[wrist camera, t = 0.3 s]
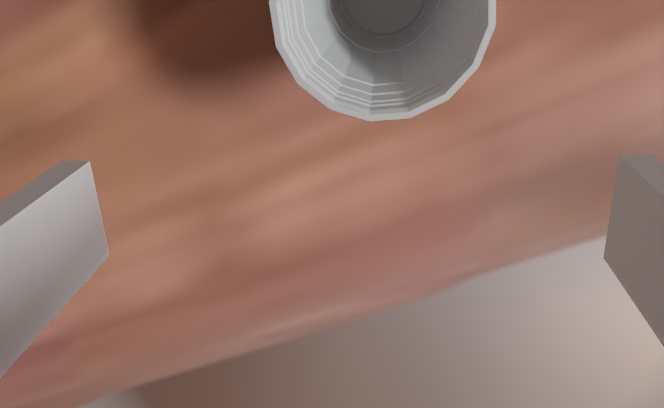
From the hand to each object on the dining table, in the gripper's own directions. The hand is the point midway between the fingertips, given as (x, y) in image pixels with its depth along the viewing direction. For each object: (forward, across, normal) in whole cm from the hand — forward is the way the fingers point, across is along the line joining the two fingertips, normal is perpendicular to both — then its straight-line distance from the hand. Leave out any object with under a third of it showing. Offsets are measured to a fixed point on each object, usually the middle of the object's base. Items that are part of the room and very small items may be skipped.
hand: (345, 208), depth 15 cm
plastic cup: (+28, +1, +3) cm, 28 cm away
